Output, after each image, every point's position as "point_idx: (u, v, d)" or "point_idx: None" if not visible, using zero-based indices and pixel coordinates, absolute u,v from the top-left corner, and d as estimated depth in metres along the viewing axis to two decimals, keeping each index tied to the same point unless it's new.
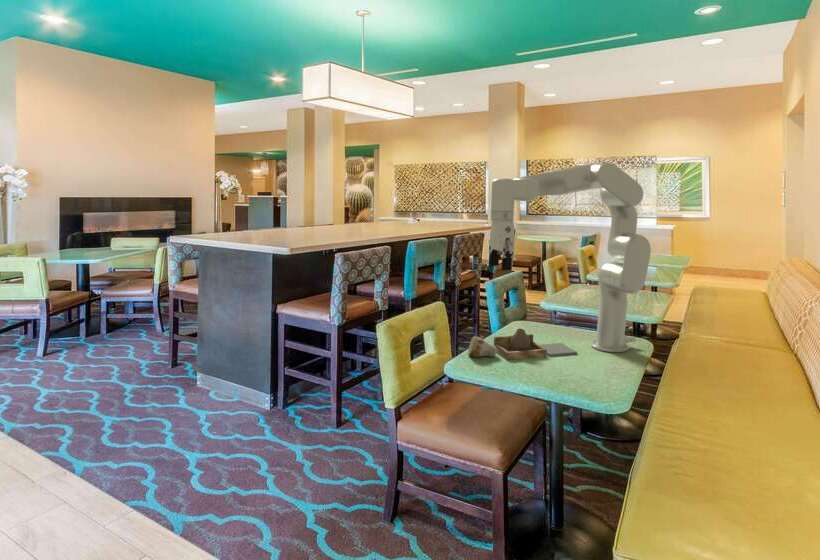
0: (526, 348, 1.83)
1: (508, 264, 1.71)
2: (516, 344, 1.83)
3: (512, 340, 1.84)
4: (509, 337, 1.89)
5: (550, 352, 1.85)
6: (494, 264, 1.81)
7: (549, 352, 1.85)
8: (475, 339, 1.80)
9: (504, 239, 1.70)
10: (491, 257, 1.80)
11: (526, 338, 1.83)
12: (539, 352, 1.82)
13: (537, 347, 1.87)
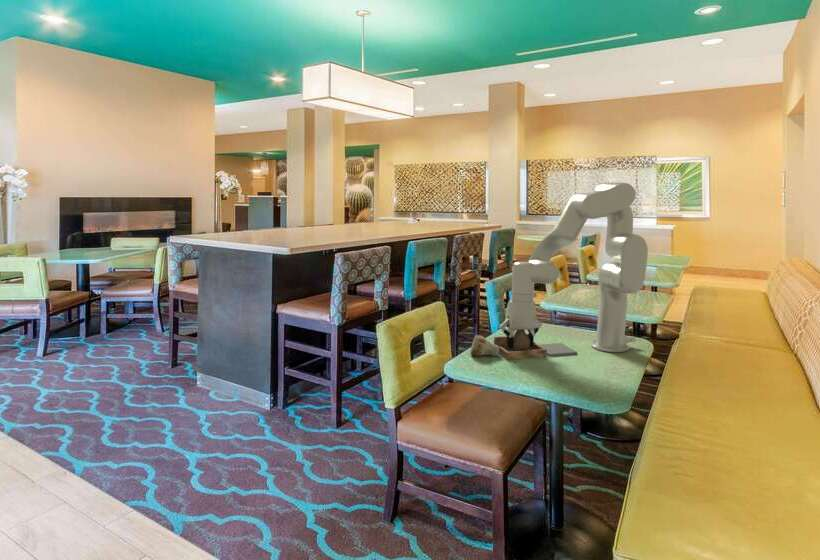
0: (526, 348, 1.83)
1: None
2: (516, 344, 1.83)
3: None
4: None
5: (550, 352, 1.85)
6: None
7: (549, 352, 1.85)
8: (477, 338, 1.81)
9: None
10: (512, 340, 1.83)
11: (526, 338, 1.83)
12: (539, 352, 1.82)
13: (537, 347, 1.87)
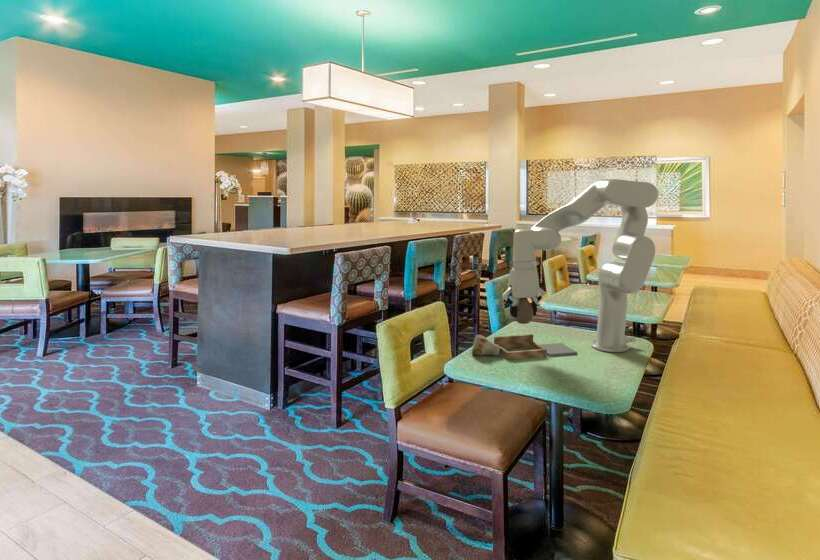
0: (529, 316, 1.81)
1: None
2: (520, 313, 1.81)
3: None
4: (509, 337, 1.89)
5: (550, 352, 1.85)
6: None
7: (549, 352, 1.85)
8: (478, 337, 1.82)
9: None
10: None
11: (529, 306, 1.81)
12: (539, 352, 1.82)
13: (537, 347, 1.87)
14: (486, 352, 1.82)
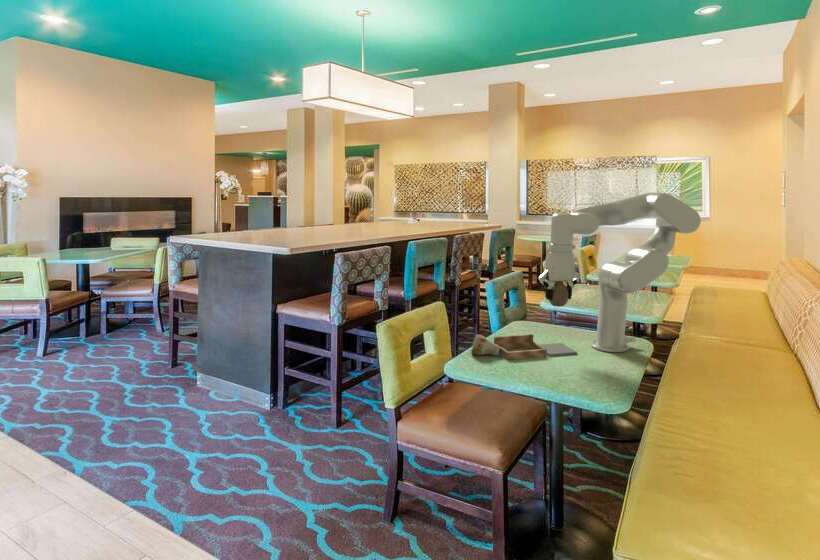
0: (565, 299, 1.84)
1: None
2: (555, 295, 1.83)
3: None
4: (509, 337, 1.89)
5: (550, 352, 1.85)
6: None
7: (549, 352, 1.85)
8: (477, 337, 1.82)
9: None
10: None
11: (565, 289, 1.84)
12: (539, 352, 1.82)
13: (537, 347, 1.87)
14: (486, 352, 1.82)
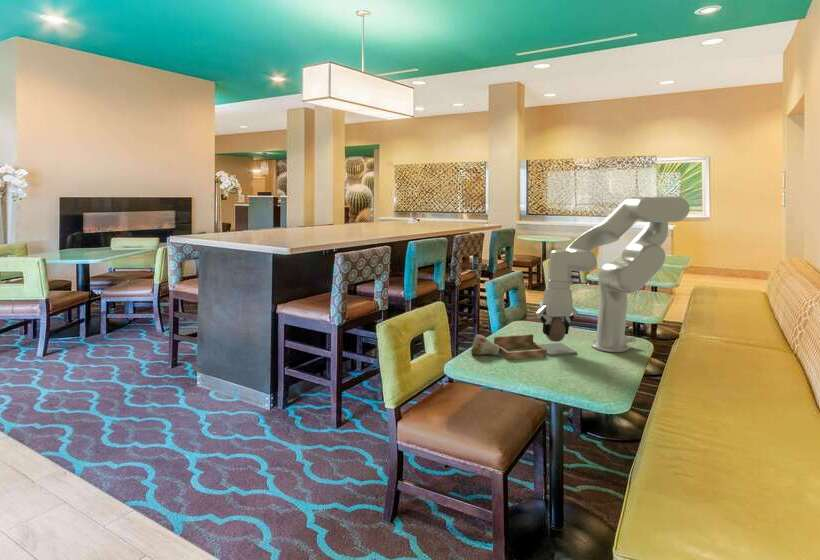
0: (562, 335, 1.86)
1: None
2: (552, 331, 1.85)
3: None
4: (509, 337, 1.89)
5: (550, 352, 1.85)
6: None
7: (549, 352, 1.85)
8: (477, 337, 1.82)
9: None
10: None
11: (562, 325, 1.86)
12: (539, 352, 1.82)
13: (537, 347, 1.87)
14: (485, 352, 1.82)
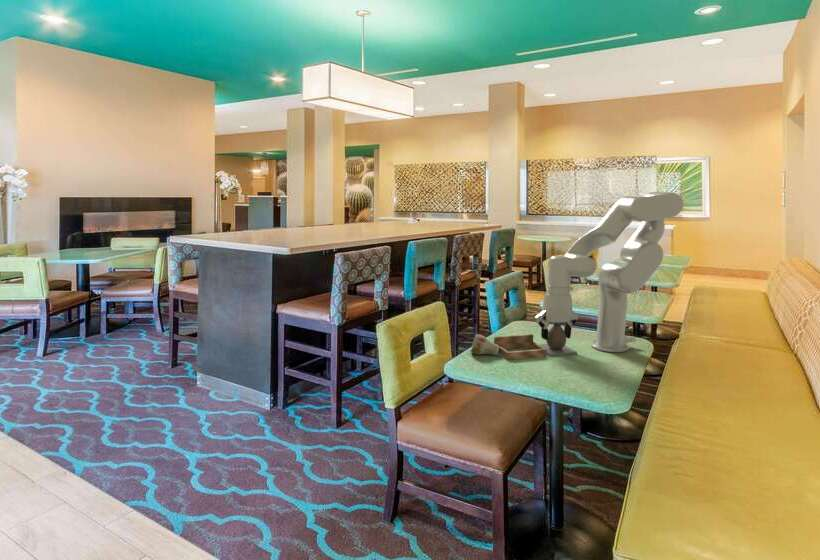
0: (563, 343, 1.86)
1: None
2: (553, 339, 1.86)
3: (549, 335, 1.88)
4: (509, 337, 1.89)
5: (550, 352, 1.85)
6: None
7: (549, 352, 1.85)
8: (477, 337, 1.83)
9: None
10: None
11: (563, 333, 1.87)
12: (539, 352, 1.82)
13: (537, 347, 1.87)
14: (485, 351, 1.83)
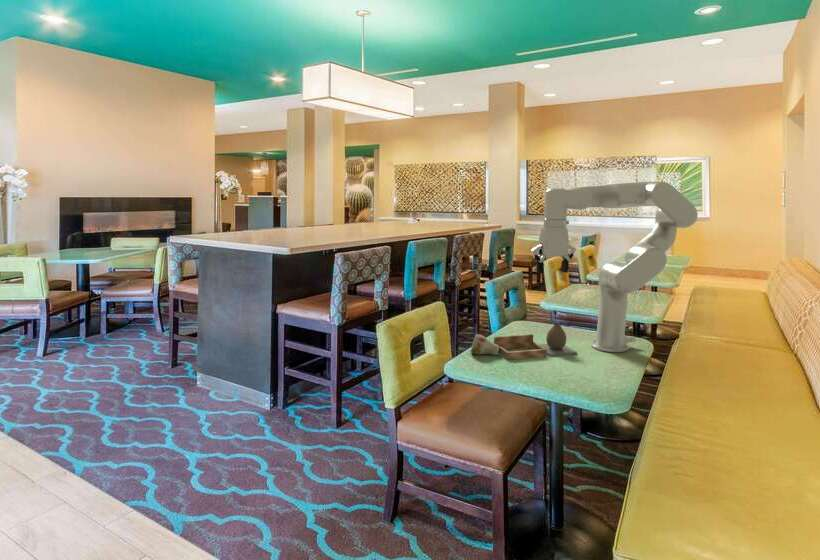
0: (563, 343, 1.86)
1: None
2: (553, 339, 1.86)
3: (549, 335, 1.88)
4: (509, 337, 1.89)
5: (550, 352, 1.85)
6: None
7: (549, 352, 1.85)
8: (477, 337, 1.83)
9: None
10: None
11: (563, 333, 1.87)
12: (539, 352, 1.82)
13: (537, 347, 1.87)
14: (485, 351, 1.83)
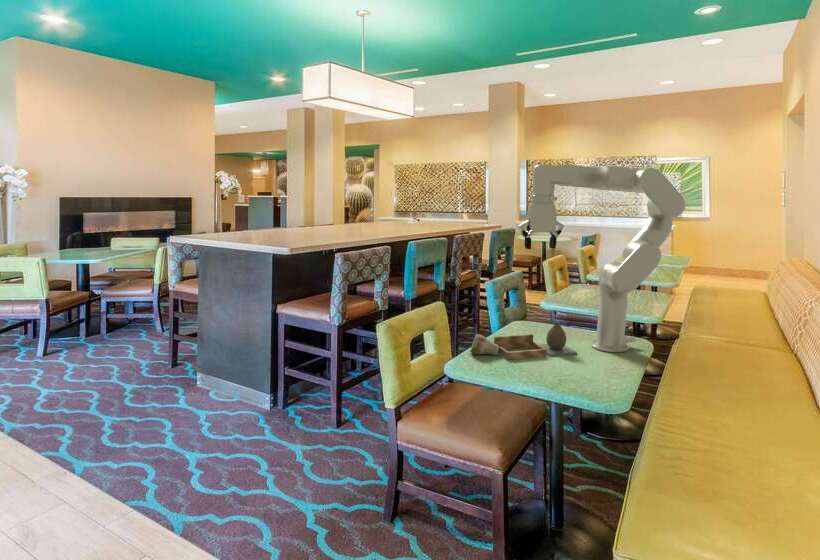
0: (563, 343, 1.86)
1: None
2: (553, 339, 1.86)
3: (549, 335, 1.88)
4: (509, 337, 1.89)
5: (550, 352, 1.85)
6: None
7: (549, 352, 1.85)
8: (476, 337, 1.83)
9: None
10: None
11: (563, 333, 1.87)
12: (539, 352, 1.82)
13: (537, 347, 1.87)
14: (485, 351, 1.83)
